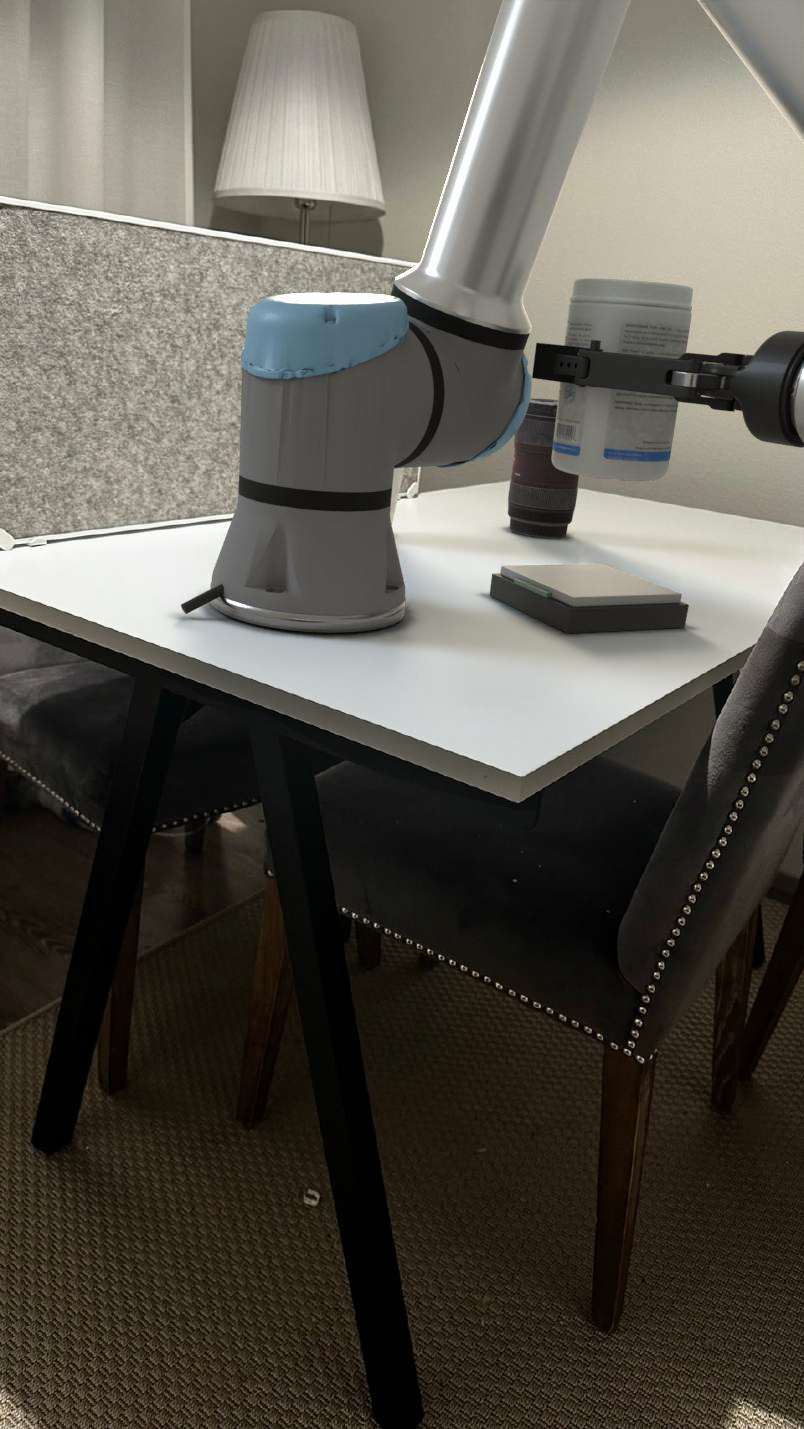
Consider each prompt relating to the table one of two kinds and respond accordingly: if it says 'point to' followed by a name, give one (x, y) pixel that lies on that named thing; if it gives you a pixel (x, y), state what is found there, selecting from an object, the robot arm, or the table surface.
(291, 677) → the table surface
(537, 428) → the camera lens
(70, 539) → the table surface
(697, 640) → the table surface
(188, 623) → the table surface
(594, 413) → the supplement tub
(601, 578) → the scale
